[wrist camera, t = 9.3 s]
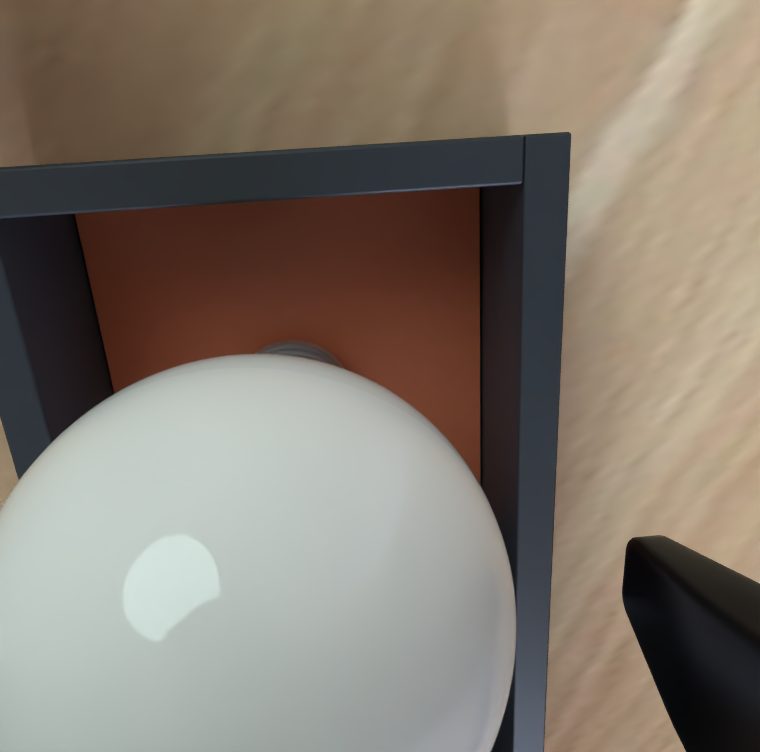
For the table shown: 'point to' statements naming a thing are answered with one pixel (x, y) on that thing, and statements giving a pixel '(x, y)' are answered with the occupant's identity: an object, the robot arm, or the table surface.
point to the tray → (315, 305)
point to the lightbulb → (253, 572)
